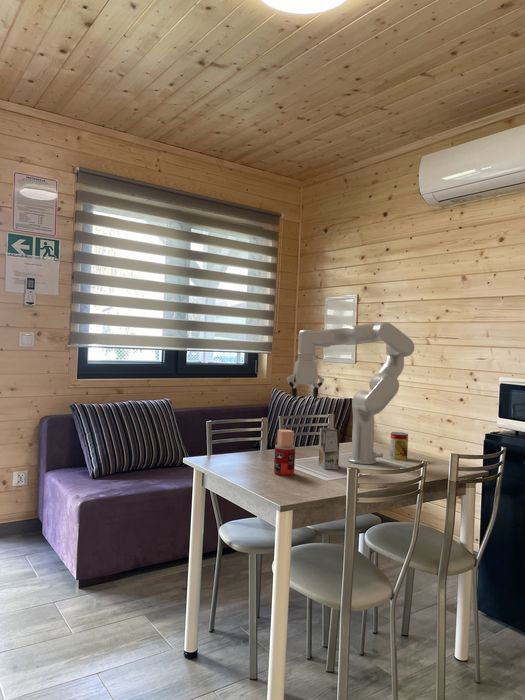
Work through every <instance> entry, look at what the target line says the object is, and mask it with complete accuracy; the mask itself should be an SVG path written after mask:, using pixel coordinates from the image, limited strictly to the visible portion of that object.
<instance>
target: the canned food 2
mask: <svg viewBox="0 0 525 700" xmlns="http://www.w3.org/2000/svg"><path fill="white" fill-rule="evenodd" d="M389 441H390V443H389V444H390V447H389V459H390V460H394V461H402V462H403V461H407V460H408V447H409V446H408V445H409V433H408V432H403V431H391V432H390V440H389Z"/></svg>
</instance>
